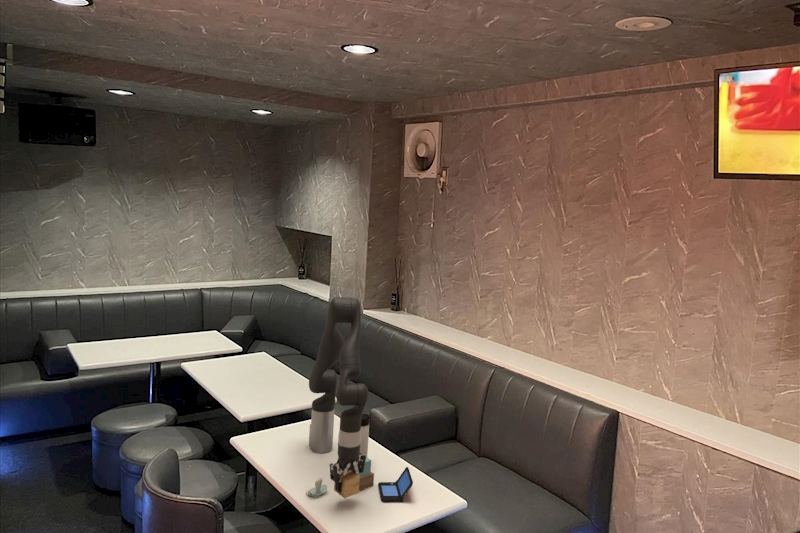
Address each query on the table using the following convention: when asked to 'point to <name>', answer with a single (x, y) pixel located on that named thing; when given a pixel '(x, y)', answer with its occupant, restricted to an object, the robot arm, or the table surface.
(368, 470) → the top block
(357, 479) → the oak cube
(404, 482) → the handheld game console
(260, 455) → the table surface
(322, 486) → the pacifier
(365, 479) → the bottom block
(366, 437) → the travel mug
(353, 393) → the robot arm
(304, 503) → the table surface
